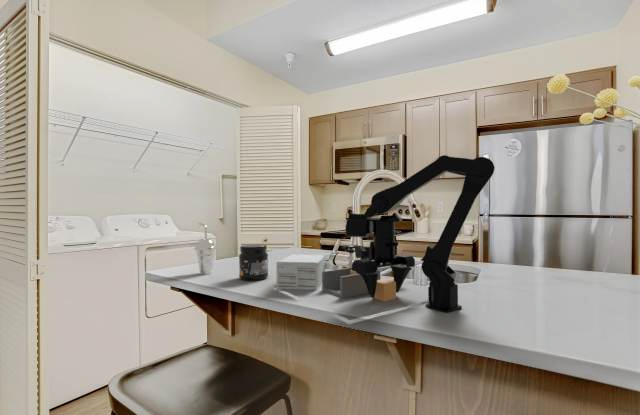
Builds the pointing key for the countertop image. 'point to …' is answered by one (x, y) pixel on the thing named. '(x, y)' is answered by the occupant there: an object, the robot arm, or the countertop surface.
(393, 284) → the block
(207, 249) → the cup with straw
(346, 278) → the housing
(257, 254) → the supplement container
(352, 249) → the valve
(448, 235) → the robot arm
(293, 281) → the supplement box
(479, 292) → the countertop surface
